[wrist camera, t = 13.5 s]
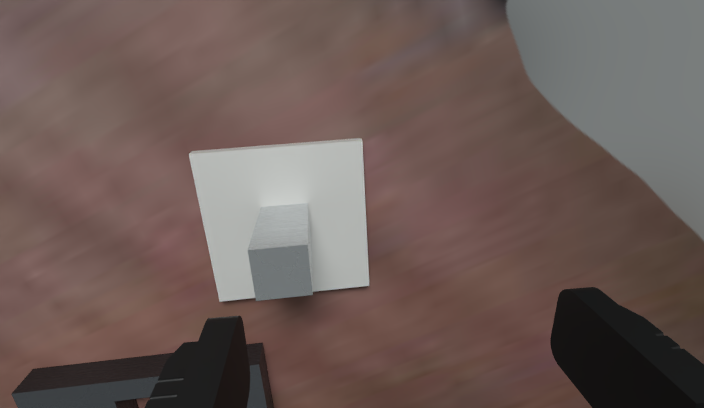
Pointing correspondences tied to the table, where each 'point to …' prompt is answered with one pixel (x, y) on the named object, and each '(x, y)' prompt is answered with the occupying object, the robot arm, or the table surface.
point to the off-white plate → (284, 189)
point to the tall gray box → (281, 252)
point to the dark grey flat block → (119, 383)
